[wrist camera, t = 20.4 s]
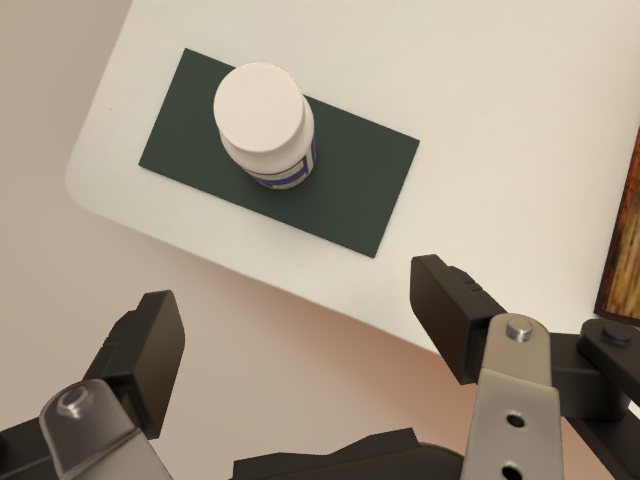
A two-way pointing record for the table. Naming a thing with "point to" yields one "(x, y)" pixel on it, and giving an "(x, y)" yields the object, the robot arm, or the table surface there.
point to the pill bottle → (266, 124)
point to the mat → (302, 199)
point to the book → (624, 255)
